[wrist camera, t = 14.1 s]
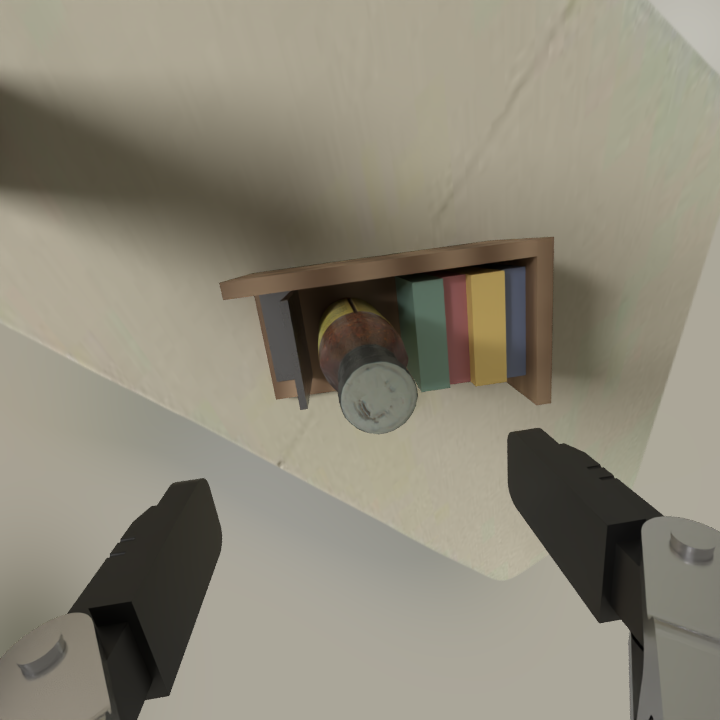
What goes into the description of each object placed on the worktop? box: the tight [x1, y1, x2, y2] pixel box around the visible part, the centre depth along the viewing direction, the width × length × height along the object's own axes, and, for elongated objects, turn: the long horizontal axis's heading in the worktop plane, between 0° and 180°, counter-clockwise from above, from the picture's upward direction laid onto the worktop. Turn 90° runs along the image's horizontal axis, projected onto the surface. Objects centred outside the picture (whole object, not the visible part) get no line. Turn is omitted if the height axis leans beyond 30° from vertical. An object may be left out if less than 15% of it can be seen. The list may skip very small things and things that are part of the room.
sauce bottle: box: [318, 298, 418, 434], centre depth 28 cm, size 6×6×20 cm
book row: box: [395, 263, 526, 392], centre depth 34 cm, size 9×9×9 cm
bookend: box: [259, 290, 313, 410], centre depth 34 cm, size 4×9×8 cm, turn 8°
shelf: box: [219, 237, 554, 405], centre depth 34 cm, size 24×13×12 cm, turn 97°
